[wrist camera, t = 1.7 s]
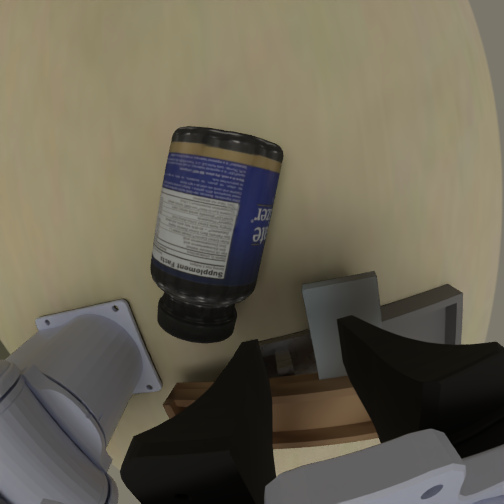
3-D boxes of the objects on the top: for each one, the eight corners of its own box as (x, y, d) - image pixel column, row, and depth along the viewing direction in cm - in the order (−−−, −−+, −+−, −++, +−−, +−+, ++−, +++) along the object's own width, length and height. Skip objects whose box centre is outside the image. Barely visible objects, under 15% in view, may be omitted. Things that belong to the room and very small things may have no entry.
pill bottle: (283, 152, 19) (249, 315, 22) (190, 135, 20) (164, 295, 22) (287, 139, 13) (239, 361, 16) (156, 119, 14) (128, 332, 16)
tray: (371, 388, 24) (379, 403, 22) (364, 311, 22) (374, 323, 20) (446, 360, 23) (457, 372, 21) (447, 283, 22) (462, 293, 20)
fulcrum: (266, 413, 24) (268, 440, 21) (245, 344, 23) (244, 369, 19) (325, 399, 24) (334, 425, 21) (312, 328, 22) (322, 351, 19)
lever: (199, 430, 22) (188, 452, 20) (146, 308, 20) (126, 326, 17) (384, 416, 19) (388, 442, 16) (374, 271, 16) (383, 289, 14)
